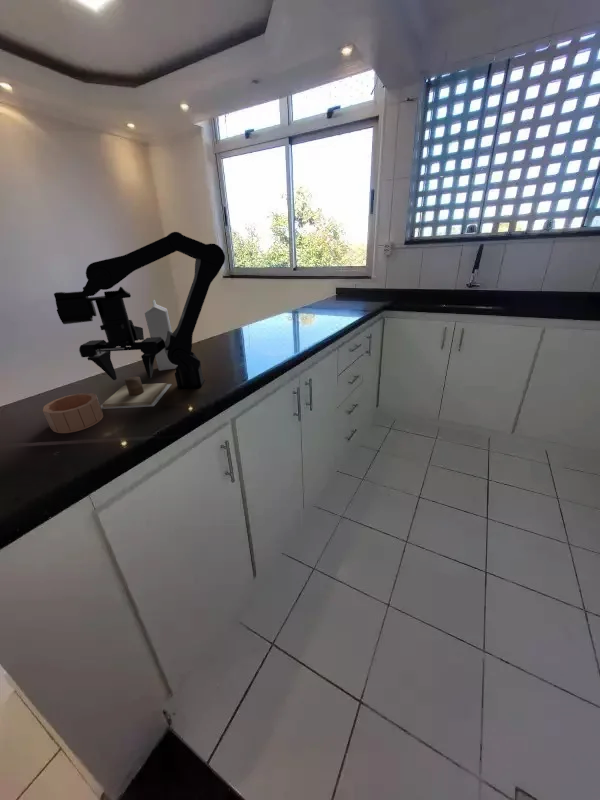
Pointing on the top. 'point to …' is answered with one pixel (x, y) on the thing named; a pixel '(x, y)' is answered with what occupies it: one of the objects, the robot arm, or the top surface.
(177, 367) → the robot arm
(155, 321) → the milk
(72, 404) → the bowl
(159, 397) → the mat
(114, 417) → the top surface
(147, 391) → the cover
